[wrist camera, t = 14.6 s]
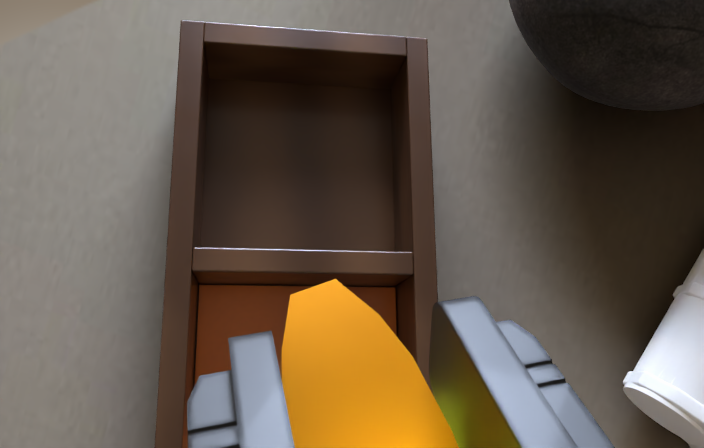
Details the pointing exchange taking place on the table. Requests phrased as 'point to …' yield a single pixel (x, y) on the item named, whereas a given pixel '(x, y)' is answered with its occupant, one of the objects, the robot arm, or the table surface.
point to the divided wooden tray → (292, 192)
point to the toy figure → (353, 378)
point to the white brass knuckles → (675, 364)
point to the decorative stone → (620, 49)
